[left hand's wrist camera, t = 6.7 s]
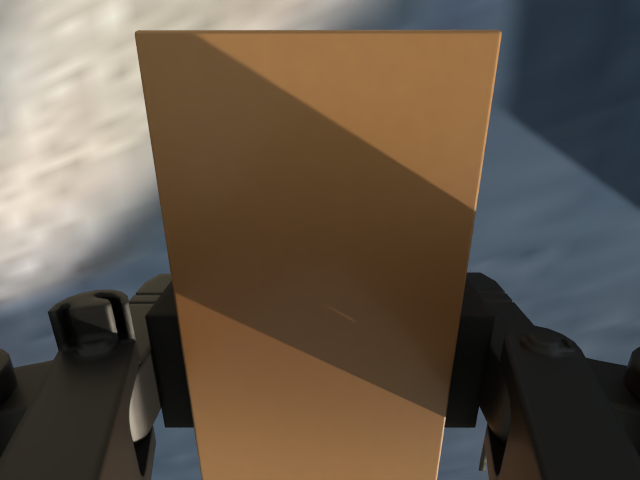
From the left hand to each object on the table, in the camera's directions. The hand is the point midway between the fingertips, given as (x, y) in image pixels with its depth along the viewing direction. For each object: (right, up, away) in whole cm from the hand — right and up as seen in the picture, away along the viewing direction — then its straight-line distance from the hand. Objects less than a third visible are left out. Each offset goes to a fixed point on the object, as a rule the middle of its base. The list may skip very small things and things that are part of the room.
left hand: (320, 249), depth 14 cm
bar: (0, -25, +11) cm, 28 cm away
